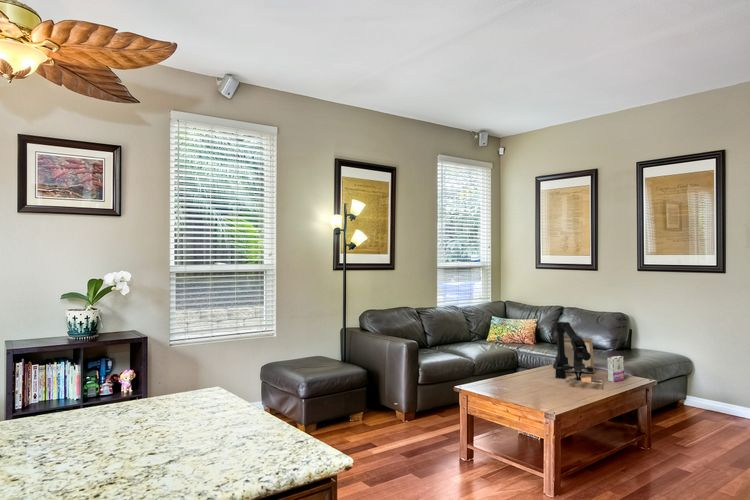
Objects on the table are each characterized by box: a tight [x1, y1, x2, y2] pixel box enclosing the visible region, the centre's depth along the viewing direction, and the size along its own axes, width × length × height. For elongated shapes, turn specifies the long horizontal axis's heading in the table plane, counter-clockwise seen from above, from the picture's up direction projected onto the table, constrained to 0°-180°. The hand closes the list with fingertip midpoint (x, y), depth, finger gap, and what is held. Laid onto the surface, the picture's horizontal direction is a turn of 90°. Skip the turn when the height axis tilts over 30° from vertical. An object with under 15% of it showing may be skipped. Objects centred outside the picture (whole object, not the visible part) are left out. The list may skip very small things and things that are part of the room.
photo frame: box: [564, 337, 595, 374], centre depth 379 cm, size 15×22×25 cm
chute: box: [568, 376, 603, 390], centre depth 334 cm, size 20×10×4 cm, turn 66°
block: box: [580, 375, 592, 383], centre depth 334 cm, size 6×6×5 cm
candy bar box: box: [606, 355, 625, 383], centre depth 349 cm, size 11×5×16 cm, turn 117°
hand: (578, 381), depth 336 cm, fingers closed
